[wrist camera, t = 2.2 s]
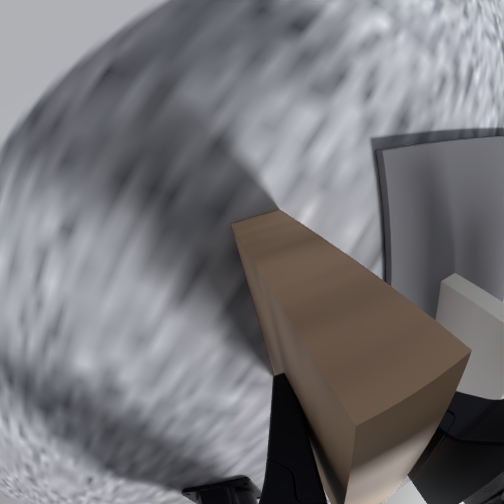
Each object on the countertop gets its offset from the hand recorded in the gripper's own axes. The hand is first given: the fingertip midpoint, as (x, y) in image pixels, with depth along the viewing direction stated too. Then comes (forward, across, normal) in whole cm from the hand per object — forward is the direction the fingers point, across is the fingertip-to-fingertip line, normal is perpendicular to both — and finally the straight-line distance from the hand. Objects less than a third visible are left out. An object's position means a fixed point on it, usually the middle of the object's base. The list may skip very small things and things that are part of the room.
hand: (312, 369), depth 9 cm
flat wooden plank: (+4, 0, 0) cm, 4 cm away
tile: (+4, -11, +6) cm, 13 cm away
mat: (+4, -14, +4) cm, 15 cm away
